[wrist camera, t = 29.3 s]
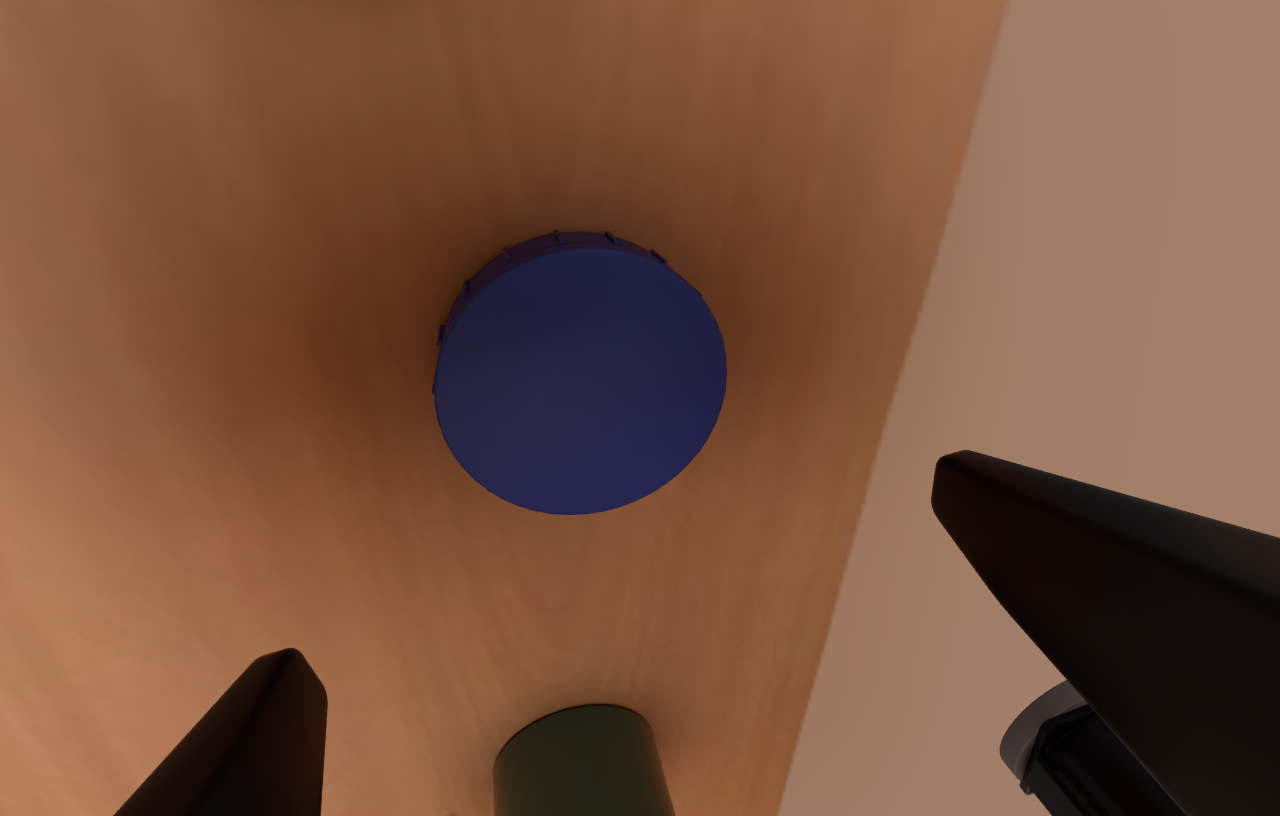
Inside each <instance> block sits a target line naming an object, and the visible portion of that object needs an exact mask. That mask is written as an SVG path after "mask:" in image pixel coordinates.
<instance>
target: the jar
mask: <svg viewBox="0 0 1280 816" xmlns="http://www.w3.org/2000/svg"><path fill="white" fill-rule="evenodd" d="M493 794H494V816H676V815H675V811H674V808H673V804H672V801H671V797H670V793H669V790H668V786H667V783H666V779H665V776H664V772H663V768H662V765H661V761H660V758H659V754H658V751H657V747H656V743H655V740H654V736H653V733H652V730H651V728H650V726H649V725H648V724H647V722H646V721H645V720H644V719H643V718H642V717H640V716H639V715H637V714H636V713H634V712H632V711H629V710H627V709H624V708H620V707H614V706H603V705H595V706H584V707H577V708H573V709H568V710H564V711H561V712H558V713H555V714H552V715H550V716H548V717H545V718H543V719H541V720H539V721H537V722H535V723H533V724H532V725H530V726H528V727H527V728H525V729H524V730H522V731H521V732H520V733H519V734H517V735H516V736H515V737H514V738H513V739H512V740H511V741H510V742H509V743H508V744H507V745H506V746H505V747H504V749H503V750H502V752H501V753H500V755H499V756H498V759H497V761H496V763H495V766H494V771H493Z"/></svg>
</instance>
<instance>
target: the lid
mask: <svg viewBox="0 0 1280 816" xmlns="http://www.w3.org/2000/svg"><path fill="white" fill-rule="evenodd" d="M553 233H554V234H551V235H546V236H541V237H538V238H535V239H532V240H529V241H526V242H523V243H521V244H519V245H517V246H515V247H513V248H511V249H508V248H507V247H505V248H503V252H504V253H502V254H500V255H499V256H497V257H496V258H494V259H493V260H491V261H490V262H489V263H488V264H487V265H485V266H484V267H483V268H482V269H481V270H480V271H479V272H477V273H476V274H475V275H474V277H473V278H472V279H471V280H470V281H469V282H468V281H466V280H465V281H464V283H463V288H462V291H461V293H460V294H459V296H458V298H457V299H456V301H455V302H454V304H453V306H452V308H451V310H450V312H449V315H448V317H447V319H446V321H445V325H442V324H441V325H440V329H439V335H438V341H437V345H440V346H439V353H438V359H437V365H436V372H435V377H434V383H433V389H432V393H433V395H434V398H435V408H436V413H437V419H438V422H439V425H440V428H441V431H442V434H443V437H444V439H445V441H446V443H447V445H448V447H449V448H450V450H451V452H452V454H453V455H454V457H455V458H456V459H457V461H458V462H459V463H460V465H461V466H462V467H463V469H464V470H465V471H466V472H467V473H468V474H469V475H470V476H471V477H472V478H473V479H474V480H475V481H477V482H478V483H479V484H480V485H482V486H483V487H484V488H486V489H487V490H488V491H490V492H491V493H493V494H495V495H497V496H498V497H500V498H502V499H504V500H506V501H508V502H510V503H513V504H515V505H517V506H520V507H524V508H527V509H530V510H534V511H539V512H544V513H550V514H563V515H577V514H590V513H596V512H603V511H607V510H611V509H614V508H618V507H621V506H624V505H627V504H629V503H632V502H635V501H637V500H639V499H641V498H643V497H645V496H647V495H649V494H651V493H652V492H654V491H656V490H657V489H659V488H660V487H662V486H664V485H665V484H666V483H668V482H669V481H670V480H671V479H673V478H674V477H675V476H677V475H678V474H679V473H680V472H681V471H682V470H683V469H684V468H685V467H686V466H687V465H688V464H689V463H690V462H691V461H692V459H693V458H694V457H695V456H696V455H697V453H698V452H699V451H700V450H701V448H702V447H703V445H704V444H705V442H706V441H707V439H708V437H709V436H710V434H711V432H712V430H713V428H714V426H715V424H716V422H717V419H718V416H719V413H720V410H721V408H722V404H723V399H724V395H725V390H726V379H727V364H726V353H725V348H724V343H723V339H722V336H721V333H720V330H719V327H718V324H717V322H716V320H715V318H714V316H713V314H712V313H711V311H710V309H709V307H708V306H707V304H706V303H705V302H704V300H703V299H702V298H701V297H702V295H701V294H700V293H699V292H698V291H697V290H696V289H694V288H693V287H692V286H691V285H690V284H689V283H688V282H687V281H686V280H684V279H683V278H682V277H681V276H680V275H678V274H677V273H676V272H675V271H674V270H672V269H671V268H670V267H669V266H668V265H667V261H666V260H665V259H664V258H663V257H661V256H660V255H659V254H658V253H656V252H655V251H654V250H651V251H650V252H649V251H647V250H645V249H644V248H642V247H640V246H638V245H636V244H634V243H631V242H629V241H626V240H624V239H621V238H618V237H615V236H614V235H612V234H611V233H610V232H608V231H606V232H605V234H601V233H591V232H562V233H559V231H558V230H553Z"/></svg>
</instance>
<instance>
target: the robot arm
mask: <svg viewBox="0 0 1280 816" xmlns="http://www.w3.org/2000/svg"><path fill="white" fill-rule="evenodd" d="M931 503H932V508H933V511H934V513H935V515H936V516H937V518H938V520H939V521H940V522H941V524H942V525H943V527H944V528H945V529H946V530H947V532H948V533H949V535H950V536H951V537H952V539H953V540H954V542H955V543H956V544H957V546H958V547H959V548H960V550H961V551H962V553H963V554H964V555H965V557H966V558H967V560H968V561H969V562H970V564H971V565H972V566H973V568H974V569H975V570H976V572H977V573H978V574H979V576H980V577H981V579H982V580H983V581H984V583H985V584H986V586H987V587H988V588H989V590H990V591H991V592H992V594H993V595H994V596H995V597H996V599H997V600H998V601H999V603H1000V604H1001V605H1002V606H1003V607H1004V609H1005V610H1006V611H1007V612H1008V613H1009V614H1010V616H1011V617H1012V618H1013V619H1014V620H1015V621H1016V623H1017V624H1018V625H1019V626H1020V627H1021V628H1022V629H1023V630H1024V632H1025V633H1026V634H1027V635H1028V636H1029V637H1030V638H1031V639H1032V641H1033V642H1034V643H1035V644H1036V645H1037V646H1038V647H1039V648H1040V650H1041V651H1042V652H1043V653H1044V654H1045V655H1046V657H1047V658H1048V659H1049V660H1050V661H1051V662H1052V663H1053V664H1054V665H1055V667H1056V668H1057V669H1058V670H1059V671H1060V672H1061V674H1062V675H1063V676H1064V677H1065V678H1066V679H1067V680H1068V682H1069V683H1070V684H1071V685H1072V686H1073V687H1074V688H1075V689H1076V691H1077V692H1078V693H1079V694H1080V695H1081V696H1082V697H1083V699H1084V700H1085V701H1086V702H1087V703H1088V704H1087V705H1084V706H1082V707H1079V708H1076V709H1074V710H1071V711H1068V712H1066V713H1063V714H1060V715H1058V716H1055V717H1052V718H1050V719H1048V720H1046V721H1045V722H1043V723H1042V724H1041V726H1040V728H1039V730H1038V733H1037V736H1036V739H1035V742H1034V745H1033V748H1032V751H1031V754H1030V756H1029V759H1028V762H1027V765H1026V768H1025V771H1024V774H1023V777H1022V780H1021V782H1020V787H1021V789H1022V790H1023V791H1024V793H1025V794H1026V795H1030V794H1033V793H1034V794H1035V795H1036V796H1037V798H1038V799H1039V800H1040V801H1041V803H1042V804H1043V805H1044V806H1045V807H1046V809H1047V810H1048V811H1049V812H1050V814H1051V815H1052V816H1280V538H1278V537H1274V536H1271V535H1268V534H1264V533H1260V532H1257V531H1253V530H1250V529H1246V528H1242V527H1239V526H1236V525H1232V524H1229V523H1225V522H1221V521H1218V520H1214V519H1211V518H1207V517H1204V516H1200V515H1197V514H1193V513H1190V512H1186V511H1183V510H1179V509H1176V508H1172V507H1168V506H1165V505H1161V504H1157V503H1154V502H1151V501H1147V500H1144V499H1140V498H1137V497H1133V496H1129V495H1126V494H1122V493H1118V492H1115V491H1112V490H1108V489H1104V488H1101V487H1098V486H1094V485H1091V484H1087V483H1083V482H1080V481H1076V480H1073V479H1069V478H1066V477H1062V476H1059V475H1055V474H1052V473H1048V472H1044V471H1041V470H1037V469H1034V468H1030V467H1027V466H1023V465H1020V464H1016V463H1013V462H1009V461H1005V460H1002V459H998V458H995V457H991V456H988V455H984V454H981V453H977V452H973V451H970V450H962V451H958V452H955V453H952V454H948V455H945V456H942V457H941V458H940V459H939V460H938V461H937V463H936V468H935V475H934V482H933V489H932V496H931ZM327 708H328V701H327V694H326V691H325V688H324V686H323V684H322V682H321V681H320V680H319V678H318V677H317V675H316V674H315V672H314V671H313V669H312V668H311V666H310V665H309V663H308V662H307V661H306V659H305V658H304V656H303V655H302V653H301V652H300V651H299V650H297V649H295V648H287V649H283V650H280V651H277V652H273V653H270V654H266V655H263V656H261V657H259V658H257V659H256V660H255V661H254V662H253V663H252V664H251V665H250V666H249V667H248V668H247V669H246V670H245V671H244V672H243V673H242V674H241V676H240V677H239V678H238V679H237V680H236V681H235V682H234V683H233V684H232V685H231V687H230V688H229V689H228V690H227V691H226V692H225V693H224V694H223V695H222V696H221V698H220V699H219V700H218V701H217V702H216V703H215V704H214V705H213V706H212V707H211V709H210V710H209V711H208V712H207V713H206V714H205V715H204V716H203V717H202V718H201V720H200V721H199V722H198V723H197V724H196V725H195V726H194V727H193V728H192V729H191V731H190V732H189V733H188V734H187V735H186V736H185V737H184V738H183V739H182V740H181V742H180V743H179V744H178V745H177V746H176V747H175V748H174V749H173V750H172V751H171V753H170V754H169V755H168V756H167V757H166V758H165V759H164V760H163V761H162V762H161V764H160V765H159V766H158V767H157V768H156V769H155V770H154V771H153V772H152V773H151V775H150V776H149V777H148V778H147V779H146V780H145V781H144V782H143V783H142V784H141V786H140V787H139V788H138V789H137V790H136V791H135V792H134V793H133V794H132V795H131V797H130V798H129V799H128V800H127V801H126V802H125V803H124V804H123V805H122V806H121V808H120V809H119V810H118V811H117V812H116V813H115V814H114V815H113V816H321V803H322V787H323V771H324V755H325V740H326V724H327Z"/></svg>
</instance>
